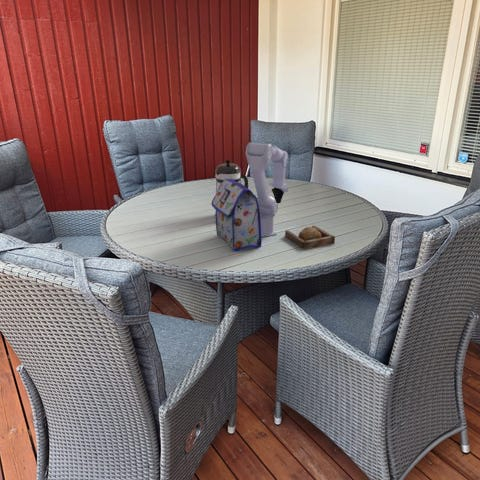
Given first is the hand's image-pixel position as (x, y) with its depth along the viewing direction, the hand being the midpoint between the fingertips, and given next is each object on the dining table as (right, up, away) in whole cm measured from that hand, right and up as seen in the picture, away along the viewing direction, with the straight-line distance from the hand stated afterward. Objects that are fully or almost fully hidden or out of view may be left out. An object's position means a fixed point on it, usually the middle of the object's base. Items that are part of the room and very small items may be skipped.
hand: (278, 202), depth 195 cm
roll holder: (+12, -18, -17) cm, 28 cm away
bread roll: (+12, -19, -17) cm, 28 cm away
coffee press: (-24, -6, +14) cm, 28 cm away
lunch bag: (-20, -19, -17) cm, 33 cm away
